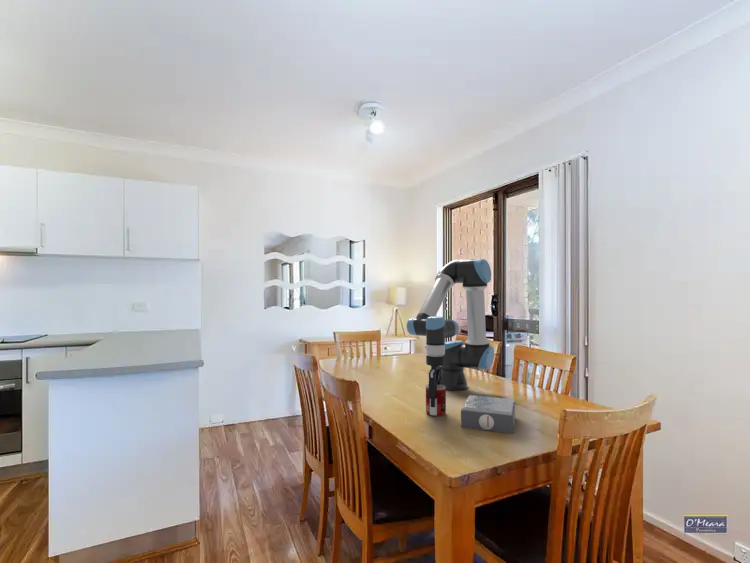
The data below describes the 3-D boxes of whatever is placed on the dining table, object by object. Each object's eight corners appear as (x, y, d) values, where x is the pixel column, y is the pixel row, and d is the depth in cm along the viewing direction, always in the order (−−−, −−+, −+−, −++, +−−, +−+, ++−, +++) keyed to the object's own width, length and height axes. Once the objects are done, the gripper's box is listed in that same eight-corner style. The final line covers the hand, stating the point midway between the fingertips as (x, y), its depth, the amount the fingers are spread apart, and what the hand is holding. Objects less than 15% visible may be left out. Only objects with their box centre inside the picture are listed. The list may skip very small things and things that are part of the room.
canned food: (445, 417, 154) (445, 388, 154) (425, 415, 155) (425, 387, 156) (446, 411, 161) (445, 384, 161) (426, 409, 163) (426, 383, 163)
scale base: (468, 412, 159) (468, 397, 160) (515, 417, 153) (515, 402, 153) (460, 427, 142) (460, 411, 142) (513, 434, 135) (513, 417, 135)
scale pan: (469, 397, 159) (469, 394, 159) (513, 402, 153) (513, 399, 153) (462, 410, 143) (462, 406, 143) (511, 415, 137) (511, 412, 137)
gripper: (432, 350, 170) (432, 403, 169) (419, 358, 151) (420, 418, 150) (449, 351, 167) (450, 405, 166) (439, 359, 148) (439, 420, 147)
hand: (435, 411), depth 158 cm, fingers closed on canned food, 8 cm apart
